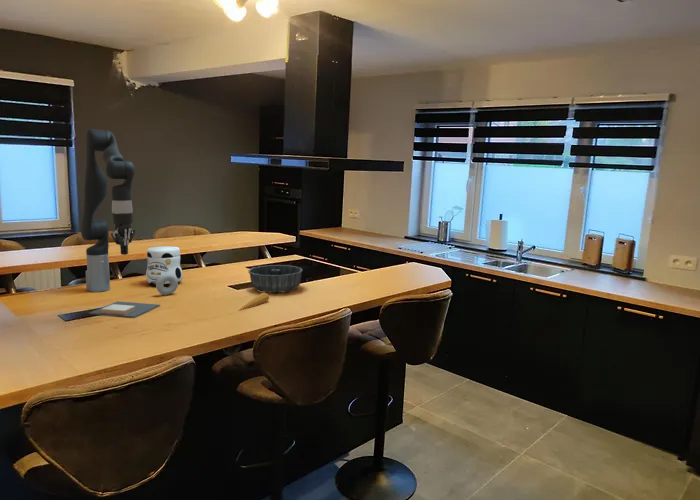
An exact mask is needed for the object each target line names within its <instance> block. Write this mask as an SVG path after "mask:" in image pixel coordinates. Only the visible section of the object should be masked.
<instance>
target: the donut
mask: <svg viewBox="0 0 700 500" xmlns="http://www.w3.org/2000/svg"><path fill="white" fill-rule="evenodd" d="M166 281H169V282H170V285H168V287H165V285H164V283H165V282H166ZM155 286H156V287H155V288H156V290H157V292H158V293H159V294H161V295H163V296H169V295H171V294H172V295H173V293H175V292H176V291H177V289H178V286H179V283H178V281H177V279H176V277H175V276H174V275H172V274H163V275H162V276H160V277H159V278H158V280H157V282H156V285H155Z"/></svg>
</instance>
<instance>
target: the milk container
mask: <svg viewBox="0 0 700 500" xmlns="http://www.w3.org/2000/svg"><path fill="white" fill-rule="evenodd" d="M146 251H147V252H146V256H147V257H146V260H147V267H146V271H145V272H146V273H145V278H146V282H147V283H148V284H149V285H153V286H156V282H157V280H158V278H159V277H160V276H162V275H163V274H172V275H174V276H175V277H176V279H177V281H178V284H179V283H180V282H182V281H183V276H184V275H183V270H182V269H183V268H182V265H181V250H180V247H178V246H171V245H170V246H168V245H166V246H164V245H163V246H151V247H149V248H147V250H146ZM164 286H170V282H169V281H166V282H165V283H164Z"/></svg>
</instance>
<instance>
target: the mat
mask: <svg viewBox="0 0 700 500" xmlns="http://www.w3.org/2000/svg"><path fill="white" fill-rule="evenodd" d="M112 304H117V305H130V306H135V311H132V312H130V313H128V314H126V315H119V314H107V313H102V308H105V307H107V306H110V305H112ZM160 306H161V304H157V303H155V304H154V303H145V302H143V303H142V302H132V301H131V302H129V301H115V302H112V303H110V304H108V305H107V304H106V305H104V306H102V307H99V308H97V309H95V310H93V311H90V312H88V315H94V316H95V315H96V316H107V317H117V318H118V317H119V318H131V319H135V318H138V317H140V316H142V315H144V314H146V313H148V312H150V311H152V310H154V309H156V308H159V307H160Z"/></svg>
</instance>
